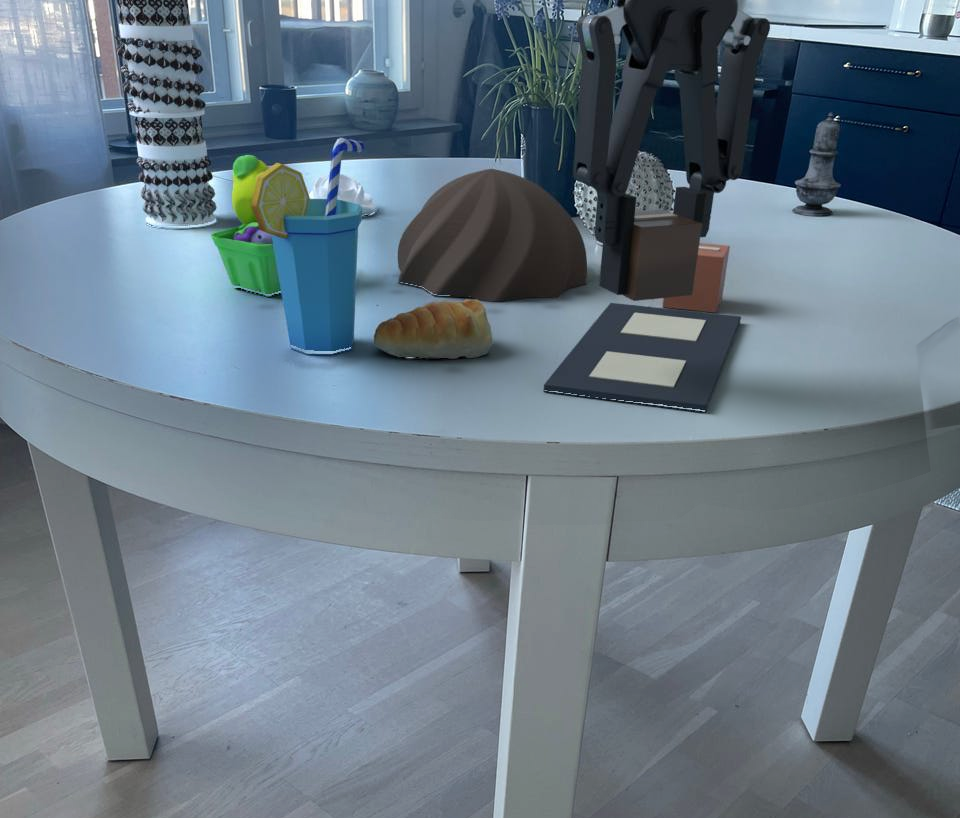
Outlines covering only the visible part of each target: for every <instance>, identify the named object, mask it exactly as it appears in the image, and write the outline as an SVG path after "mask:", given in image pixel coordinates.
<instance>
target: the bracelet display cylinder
mask: <svg viewBox="0 0 960 818" xmlns="http://www.w3.org/2000/svg"><path fill="white" fill-rule="evenodd" d="M116 5H117V11H118V17H119V24H118V28H119V35H114V38H115V40H116V41H118V42H119V44H118V45H117V46H116V47H115V51H116V55H117V56H118V57H120V58H122V59H123V60H126V61H127V62H126V63H124V64H123V66H121V67H120V70H119V71H120V74H121V77H123V78H125V79H127V80H126V81H125V82H123V84H122V87H123V92H124V93H126V94H128V95H129V96H130V97H132V99H130V101H129V102H128V103H127V104H126V106H127V111H128V112H129V115H130V116H133V118H134V125H135V132H136V138H137V141H136V149H137V154H138V158H137V159H136V164H135V165H136V166H137V167H138V168H140V169H141V170H142V171H141V172H140V173H138V180H139V181H140V182H142V183H144V186H143V187H142V188H141V189H140V197H141V199H143V200H144V203H143V205H142V210H143V212H144V213H145V214H146V215H147V217H145V223H146V222H148V223H150V224H152V225H159V226H188V225H189V226H190V225H198V224H204V223H208V222H212V221H214V220H215V219H217V221H216V222H215V223H213V224H210V225H206V226H201V227H193V228H164V229H167V230H186V229H187V230H189V229H198V228H204V227H208V226H213V225H215V224H216V223H218V218H217V215H216V214H214V213H215V211H216V210H217V204H216V202H215V201H214V200H213V199H214V197H215V196H216V192H215V189H214V188H213V186H211V185H210V183H209V182H210V181H211V180H213V179H214V175H213V173H212V171H210V170H208V168H209V167H210V166H211V165H212V160H211V158H210V157H209V156H208V151H207V142H206V140H205V137H204V129H203V128H204V127H203V122H202V120H203V119H202V116H203V115H205V114H206V113H205V112H206V111H205V107H206V105H207V103H206V102H205V101H204V100H202V99H201V97H199V96H200V95H201V94H202V93H204V91H205V87H204V86H203V85H202V84H200V83H199V82H197V79H196V75H197V77H199V75H200V74H201V73H202V72H203V71H204V68H203V66H202V65H201V64H199V63H198V62H196V61H197V60H198V59H199V58H200V57H201V56H202V51H201V50H200V49H199V48H197V46H195V45H194V44H192V41H194V39H195V38H194V30H193V29H194V28H193V25H192V24H191V18H190V9H189V0H116ZM146 225H147V226H150V227H152V228H157V229H162V228H161V227H155V226H151V225H149V224H146Z"/></svg>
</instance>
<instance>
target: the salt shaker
mask: <svg viewBox="0 0 960 818" xmlns="http://www.w3.org/2000/svg"><path fill="white" fill-rule="evenodd" d="M827 116H828V118H826V119H825V120H821V121H820V122H819V123H818V124H817V126H816V130H815V134H814V141H813V146H812V149H810V150H809V153H810V159H809V163H808V169H807V172H806V174H805V176H804V177H802V178H800V179H797V180H795V181H794V184H795V185H796V188H795V191H796V192H795V193H796V197H797V198H798V200H799V201H800V202H802V203H803V205H802V204H801V205H797V206H796V207H794V208H792V209H791V212H792V213H794V214H796V215H797V214H798V215H801V216H802V215H803V216H809V217H828V216H832V215H834V212H833V210H831V209H830V208H829V207H827V206H823V205H827V204H828V203H831V202H832V201H833V200H834V199H835V197H836V195H837V193H838V190H839V188H840V187H841V183H839V182H836V180H835V179H834V175H833V170H834V169H833V168H834V165H835V164H834V163H835V159H836V156H837V155H838V154H839V152H838V150H837V145H838V140H839V135H840V129H841V127H840V124H839V122H837V121H835V120H834V118H833V117H834V114H833V112H832V111H830V112H829V113H828V115H827Z"/></svg>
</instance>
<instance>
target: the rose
mask: <svg viewBox="0 0 960 818" xmlns="http://www.w3.org/2000/svg"><path fill="white" fill-rule="evenodd" d="M329 175H330V174H326V175H322V176H320V177H318V178H317V179H316V181H314V184H313V187H312V190H311V191H310V192H309V193H308V194H309V197H310V199H327V194H328V184H329ZM337 199H338V200H342V201H347V202H351V203H355V204H359V205H361V206H362V215H364V214H371V213H373V212H376V211H377V212H378V208H379V205H378V204H377V203H376V202H373V195H371V194H369V193H367V192H365V190H364V187H363V185H362V184H361V183H360V182H359V181H358V180H357V179H356V178H354V177H353V178H352V177H351V176H348V175H346V174H343V173H340V178H339V187H338V196H337ZM377 212H376V213H377ZM376 213H374V214H372V215H368V216H367V217H370V216H373V215H375V214H376ZM365 217H366V216H362V218H365Z"/></svg>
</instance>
